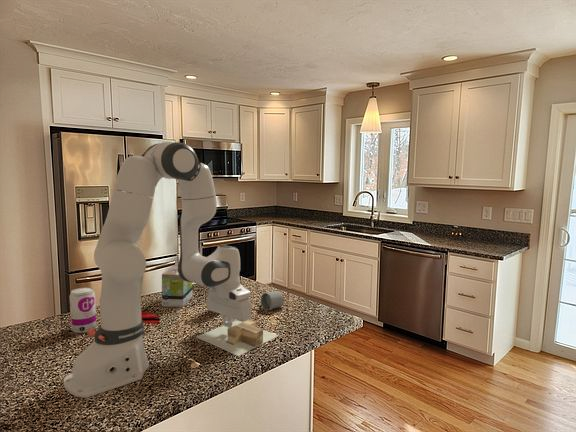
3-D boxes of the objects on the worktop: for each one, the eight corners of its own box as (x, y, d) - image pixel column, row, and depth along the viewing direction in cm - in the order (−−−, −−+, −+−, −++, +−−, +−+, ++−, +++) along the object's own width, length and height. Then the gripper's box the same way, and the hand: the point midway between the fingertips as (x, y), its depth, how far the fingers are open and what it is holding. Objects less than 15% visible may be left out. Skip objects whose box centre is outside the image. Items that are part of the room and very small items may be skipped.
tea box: (184, 307, 164) (183, 274, 163) (161, 307, 165) (160, 274, 163) (193, 296, 179) (192, 266, 178) (172, 296, 179) (171, 265, 178)
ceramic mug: (285, 308, 164) (285, 291, 163) (271, 312, 159) (271, 295, 158) (270, 302, 172) (270, 286, 171) (256, 306, 167) (255, 289, 166)
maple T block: (248, 349, 124) (248, 336, 123) (227, 341, 130) (227, 328, 130) (270, 338, 132) (270, 326, 132) (249, 331, 139) (249, 319, 138)
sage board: (238, 357, 120) (238, 355, 120) (195, 338, 133) (195, 336, 133) (279, 336, 135) (279, 335, 135) (236, 321, 149) (236, 320, 149)
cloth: (113, 312, 159) (113, 307, 159) (146, 305, 168) (146, 300, 167) (132, 333, 139) (132, 327, 139) (168, 324, 148) (168, 318, 147)
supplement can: (99, 329, 140) (98, 290, 139) (75, 335, 134) (73, 295, 133) (91, 323, 146) (89, 285, 144) (68, 329, 140) (66, 290, 138)
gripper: (202, 285, 139) (202, 321, 141) (241, 297, 127) (240, 337, 128) (215, 282, 144) (215, 317, 146) (254, 293, 131) (253, 331, 133)
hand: (227, 326), depth 137 cm, fingers closed
